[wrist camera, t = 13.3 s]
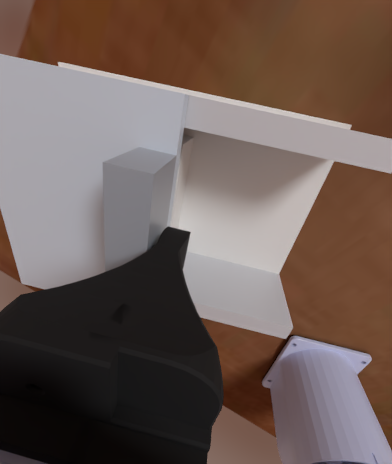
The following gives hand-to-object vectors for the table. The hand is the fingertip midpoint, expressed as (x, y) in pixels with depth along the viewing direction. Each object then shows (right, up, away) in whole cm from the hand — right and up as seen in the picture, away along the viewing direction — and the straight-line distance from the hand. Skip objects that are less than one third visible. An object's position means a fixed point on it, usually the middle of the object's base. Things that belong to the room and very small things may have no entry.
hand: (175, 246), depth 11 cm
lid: (-5, +2, +2) cm, 5 cm away
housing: (0, +4, +6) cm, 7 cm away
